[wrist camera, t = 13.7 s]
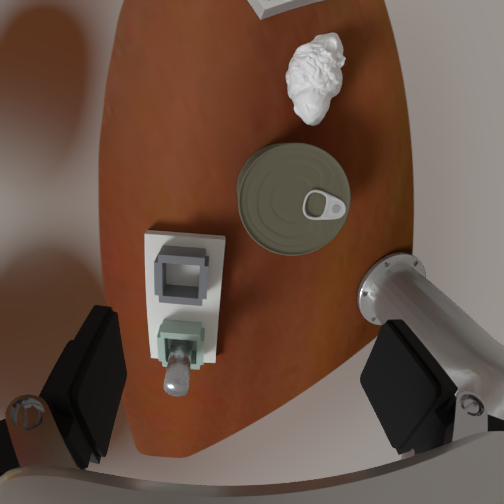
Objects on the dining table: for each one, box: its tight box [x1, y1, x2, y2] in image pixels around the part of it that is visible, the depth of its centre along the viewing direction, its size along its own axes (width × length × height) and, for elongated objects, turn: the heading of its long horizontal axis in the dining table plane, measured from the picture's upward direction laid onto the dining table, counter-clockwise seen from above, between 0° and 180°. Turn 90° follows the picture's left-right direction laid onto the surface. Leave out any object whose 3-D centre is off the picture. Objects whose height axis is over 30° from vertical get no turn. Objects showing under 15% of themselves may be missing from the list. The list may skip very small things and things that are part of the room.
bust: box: [286, 33, 346, 126], centre depth 27 cm, size 12×8×11 cm
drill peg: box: [164, 339, 193, 397], centre depth 37 cm, size 3×3×10 cm
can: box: [237, 143, 351, 256], centre depth 33 cm, size 12×12×7 cm
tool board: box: [145, 230, 226, 370], centre depth 39 cm, size 20×10×4 cm, turn 173°
